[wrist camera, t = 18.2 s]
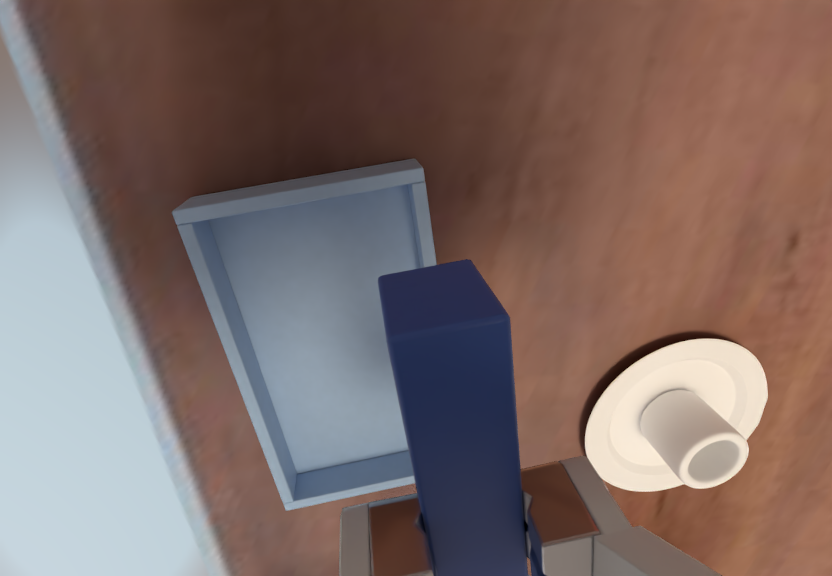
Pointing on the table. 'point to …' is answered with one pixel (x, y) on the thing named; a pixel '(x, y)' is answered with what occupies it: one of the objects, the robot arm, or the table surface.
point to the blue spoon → (458, 415)
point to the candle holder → (678, 417)
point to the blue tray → (314, 318)
